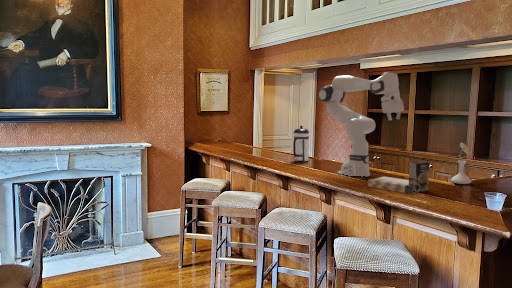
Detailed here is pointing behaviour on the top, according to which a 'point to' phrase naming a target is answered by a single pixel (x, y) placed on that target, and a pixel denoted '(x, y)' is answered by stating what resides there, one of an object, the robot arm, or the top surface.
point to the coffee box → (419, 176)
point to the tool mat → (394, 180)
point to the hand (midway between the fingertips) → (394, 119)
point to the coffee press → (301, 144)
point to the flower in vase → (462, 168)
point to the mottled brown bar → (390, 186)
